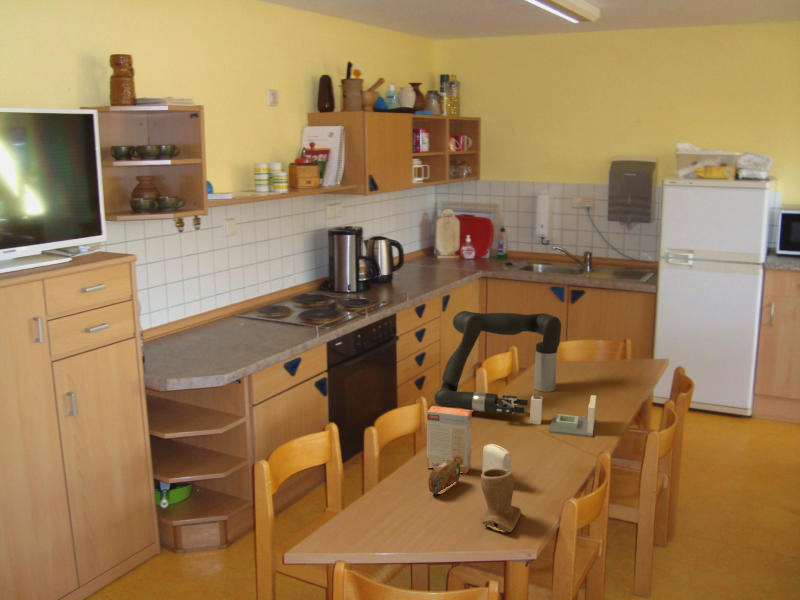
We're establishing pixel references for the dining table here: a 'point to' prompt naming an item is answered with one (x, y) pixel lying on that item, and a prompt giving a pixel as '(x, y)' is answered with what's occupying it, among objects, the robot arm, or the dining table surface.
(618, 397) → the dining table surface
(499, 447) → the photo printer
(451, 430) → the cracker box
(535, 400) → the block
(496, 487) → the stone cup
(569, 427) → the wall outlet
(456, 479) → the tin
